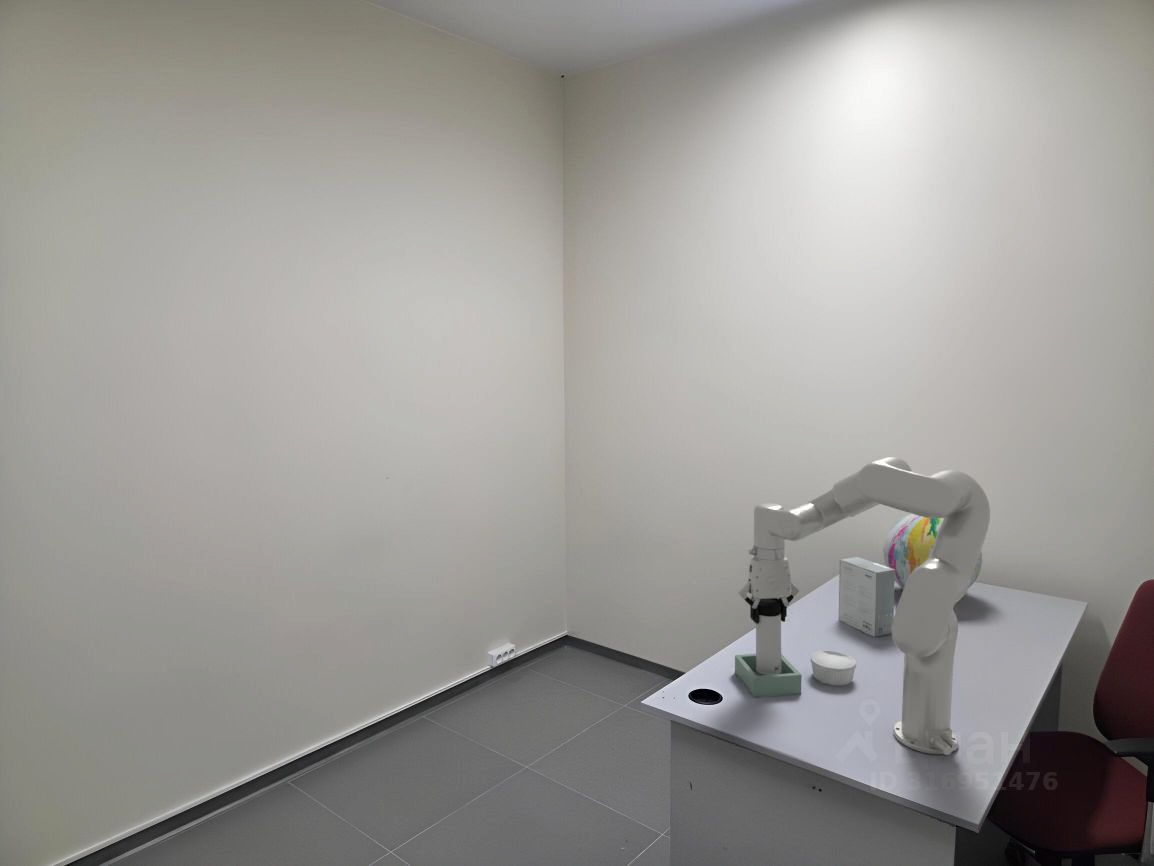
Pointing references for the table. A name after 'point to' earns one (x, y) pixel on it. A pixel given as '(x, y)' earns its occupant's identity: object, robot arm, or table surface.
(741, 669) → the tray
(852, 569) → the hard drive box
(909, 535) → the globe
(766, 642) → the travel mug
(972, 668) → the table surface
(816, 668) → the ramekin
